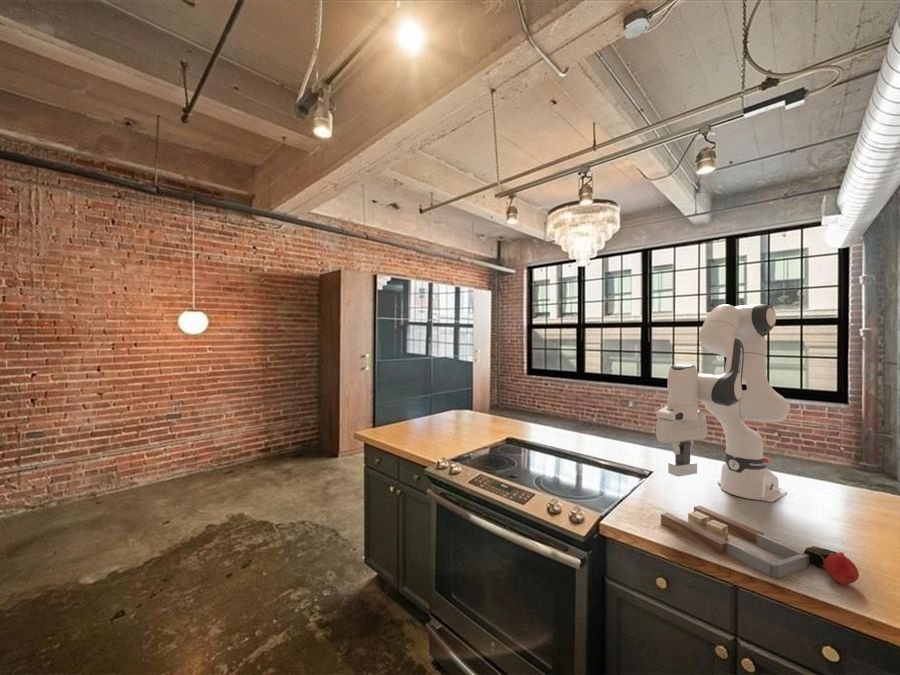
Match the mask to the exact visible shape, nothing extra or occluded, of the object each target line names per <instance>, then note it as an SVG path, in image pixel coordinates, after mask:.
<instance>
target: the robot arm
mask: <svg viewBox="0 0 900 675" xmlns="http://www.w3.org/2000/svg"><path fill="white" fill-rule="evenodd" d="M776 323H777V315H776V311H775V309H774V308H773V307H772V306H771V305H769V304H764V303H757V304H756V303H755V304H749V305H748V304H747V305H746V304H744V305H736V306H734V305H731V304H719V305H717V306H715V307H714V308H713V309H712V310H711V311H710V312H709V314H708V315H707V316H706V318H705V320H704V321H703V324H702V326H701V329H700V331H699V335H698V340H699V342H700V344H701V345H702V346H703V348H705V349H706V350H707V351H709V352H710V353H713V354H716V355H720V356H722V357H724V358H726V359H725V366H724V371H723V372H722V373H719V374H714V373H713V374H712V373H711V374H710V373H702V372H698V370H697V366H696V365H695V364H692V363H675V364H673V365H671V366H670V367H669V370H668V374H667V375H668V376H667V384H666V385H667V392H668V393H667V394H668V397H667V398H668V399H667V402H666V403H667V404H666V405H665V406H663V407H662V408H661V409H658V410H657V411H656V412H655V414H656V418H657V419H656V423H655V437H656V439H657V440H658V441H659V442H661V443H664V444H669V443H670V444H671V446H672V448H673V454H677V455H679V454H682V449H680V448H679V444H680V441H686V442H690V454H692V448H693V446H694V440H704V439H707V437H708V425H707V424H708V423H707V419H706V418H705V413H703V411H702V410H699V402H702V403H703V404H704V406H705V409H706V410H707V412H709V413H710V414H711V415H713V416H714V417H715V418H716V419H717V420H718V421H719V423H720V425H721V426H722V429H723V432H724V435H725V436H724V437H725V452H724V455H723V456H724V457H723V458H724V462H725V463H723V464H722V466H721V475H720V480H717V484H718V485H719V486H720V489H722V490H723V491H724V492H726V493H727V494H731V495H732V496H733V495H734V496H737V497H740V498H743V499H744V498H745V499H749V500H757V501H763V502H769V503H773V501H774V502H775V500H776V501H777V499H778V498H779V499H781V498H782V497H781V496H783V495H784V494H786V493H787V494H788V492H787V490H785V489H783V488H781V487H779V478H778V476H777V475H776V474H774V473H773V472H772V471H770V470H769V469H768V467H767V464H770V463H771V459H770V457H766V456H764V440H763V437H762V435H761V434H760V433H759V432H757V431H756V430H754V429H752V428H751V427H748V426H747V425H746V423H745V422H744V420H746V421H747V420H748V421H755V422H763V423H780V422H783V421H785V420H786V418H788V416H789V414H790V410H791V408H790V404H789V403H788V401H787V399H786V398H785V397H784V396H783V395H781V394H780V393H778V392H777V391H776V390H775V389H773V387H772V385H771V384H770V382H769V380H768V377H767V356H768V355H767V350H768V349H767V341H766V336H767V335H768V334H769V332H771V331H772V330H773V329H774V327H775V326H776ZM743 384H745V385H746V390H745V389H744V390H743ZM787 494H786V495H787ZM784 496H785V495H784ZM784 496H783V497H784ZM780 497H781V498H780ZM779 499H778V500H779Z"/></svg>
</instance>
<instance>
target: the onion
mask: <svg viewBox="0 0 900 675" xmlns="http://www.w3.org/2000/svg"><path fill="white" fill-rule="evenodd" d="M823 569H824V570H825V571H826V573H827V574H828V576H830V577H831V579H833V580H834V581H835V582H836V583H838V584H839V585H840V586H841V585H842V586H846V585H849V584H853V583H855V582H857V581H858V579H859V576H860V575H859V571H858V567H857V566H856V564H855V563H854V562H853V561H852V560H850V559H849V557H847V556H846V555H845V552H843V551H839V552H837V553H836V554H831V555H829V556H828V557H827V558H826V559H825V560H824V568H823Z"/></svg>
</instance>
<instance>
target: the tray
mask: <svg viewBox="0 0 900 675" xmlns="http://www.w3.org/2000/svg"><path fill="white" fill-rule="evenodd" d="M756 545H757V546H758V547H761V548H764V549H765V550H768V551H770V552H772V553H774V554H777V555H778V556H781V557H783V559H779V560H778V561H773V560H771V559H769V558H767V557H765V556H763V555H761V554H759V553H757V552H755V551H753V550H751V549H748V548H746V547H745V548H743V547H742V546H740V545H737V544H735V543H733V542H731V541H727V554H726V555H728V556H730V557H732V558H733V559H736V560H738V561H739V562H741V563H743V564H745V565H747V566H749V567H751V568H753V569H755V570H756V571H758V572H760V573H763V574H764V575H766V576H769V577H770V578H772V579H774V580H777V579H780V578H784V577H786V576H788V575H791V574H794V573H797V572H799V571H801V570H805V569H806V568H807V569H808V568H809V567H810V562H809V555H807V554H805V553H804V551H803V552H802V551H800V550H798V549H796V548H793V547H791V546H789V545H787V544H784V543H782V542H780V541H777V540H775V539H773V538H770V537H768V536H766V535H765V534H764V535H761V534H757V544H756Z"/></svg>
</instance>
